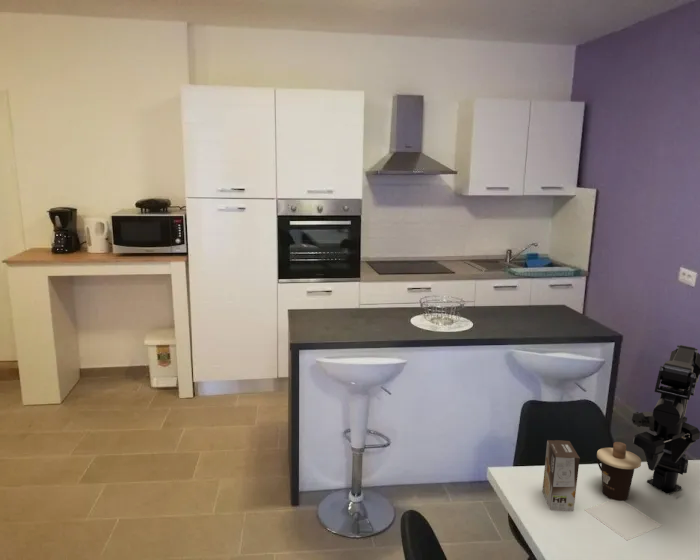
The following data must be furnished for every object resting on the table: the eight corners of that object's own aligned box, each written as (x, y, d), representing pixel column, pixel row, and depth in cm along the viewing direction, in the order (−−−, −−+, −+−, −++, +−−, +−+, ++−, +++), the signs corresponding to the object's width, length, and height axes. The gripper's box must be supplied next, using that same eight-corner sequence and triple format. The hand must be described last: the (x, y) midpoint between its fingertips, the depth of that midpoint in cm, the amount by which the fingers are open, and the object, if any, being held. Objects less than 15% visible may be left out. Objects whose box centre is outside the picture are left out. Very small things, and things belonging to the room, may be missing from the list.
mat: (617, 498, 150) (617, 497, 149) (661, 527, 138) (661, 525, 138) (583, 511, 144) (584, 509, 144) (626, 541, 133) (627, 540, 132)
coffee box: (574, 513, 143) (581, 458, 140) (549, 511, 144) (555, 457, 140) (564, 492, 152) (570, 440, 149) (540, 490, 153) (546, 439, 149)
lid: (614, 448, 157) (616, 433, 157) (649, 464, 148) (651, 448, 147) (588, 455, 153) (589, 440, 152) (622, 472, 143) (624, 456, 142)
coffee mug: (636, 504, 146) (639, 469, 144) (602, 500, 148) (605, 466, 146) (624, 483, 157) (626, 450, 156) (592, 480, 159) (595, 447, 157)
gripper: (665, 392, 150) (657, 443, 153) (618, 405, 142) (611, 458, 145) (705, 409, 140) (696, 463, 144) (658, 423, 132) (649, 480, 136)
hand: (662, 465), depth 142 cm, fingers open, 9 cm apart
